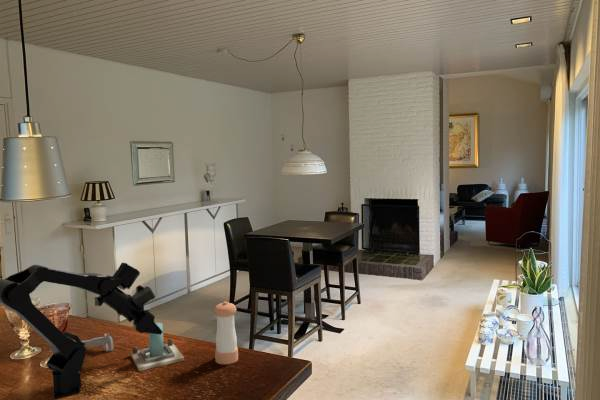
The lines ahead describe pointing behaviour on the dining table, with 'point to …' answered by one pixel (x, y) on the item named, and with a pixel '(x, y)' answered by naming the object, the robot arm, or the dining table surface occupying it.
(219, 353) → the salt shaker
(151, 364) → the board
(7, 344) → the dining table surface
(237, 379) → the dining table surface
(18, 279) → the robot arm
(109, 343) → the caliper
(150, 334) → the pin
